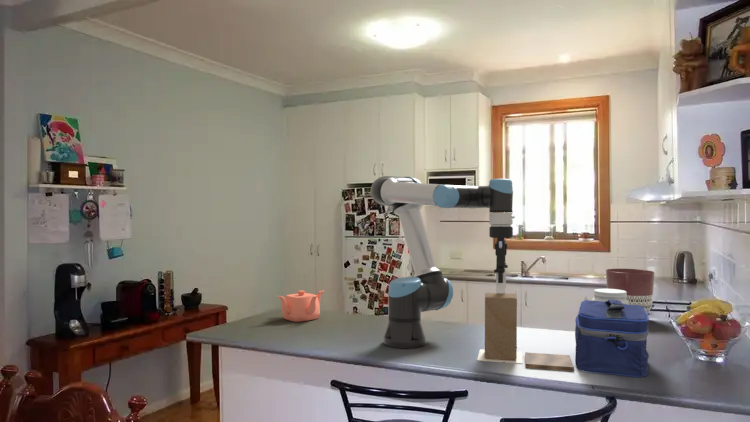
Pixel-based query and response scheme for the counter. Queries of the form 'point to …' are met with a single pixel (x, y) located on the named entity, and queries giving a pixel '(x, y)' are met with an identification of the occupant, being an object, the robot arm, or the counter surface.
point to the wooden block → (500, 326)
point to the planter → (633, 285)
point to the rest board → (549, 361)
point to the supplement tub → (610, 295)
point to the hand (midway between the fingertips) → (501, 290)
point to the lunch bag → (611, 338)
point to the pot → (301, 306)
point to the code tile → (482, 358)
